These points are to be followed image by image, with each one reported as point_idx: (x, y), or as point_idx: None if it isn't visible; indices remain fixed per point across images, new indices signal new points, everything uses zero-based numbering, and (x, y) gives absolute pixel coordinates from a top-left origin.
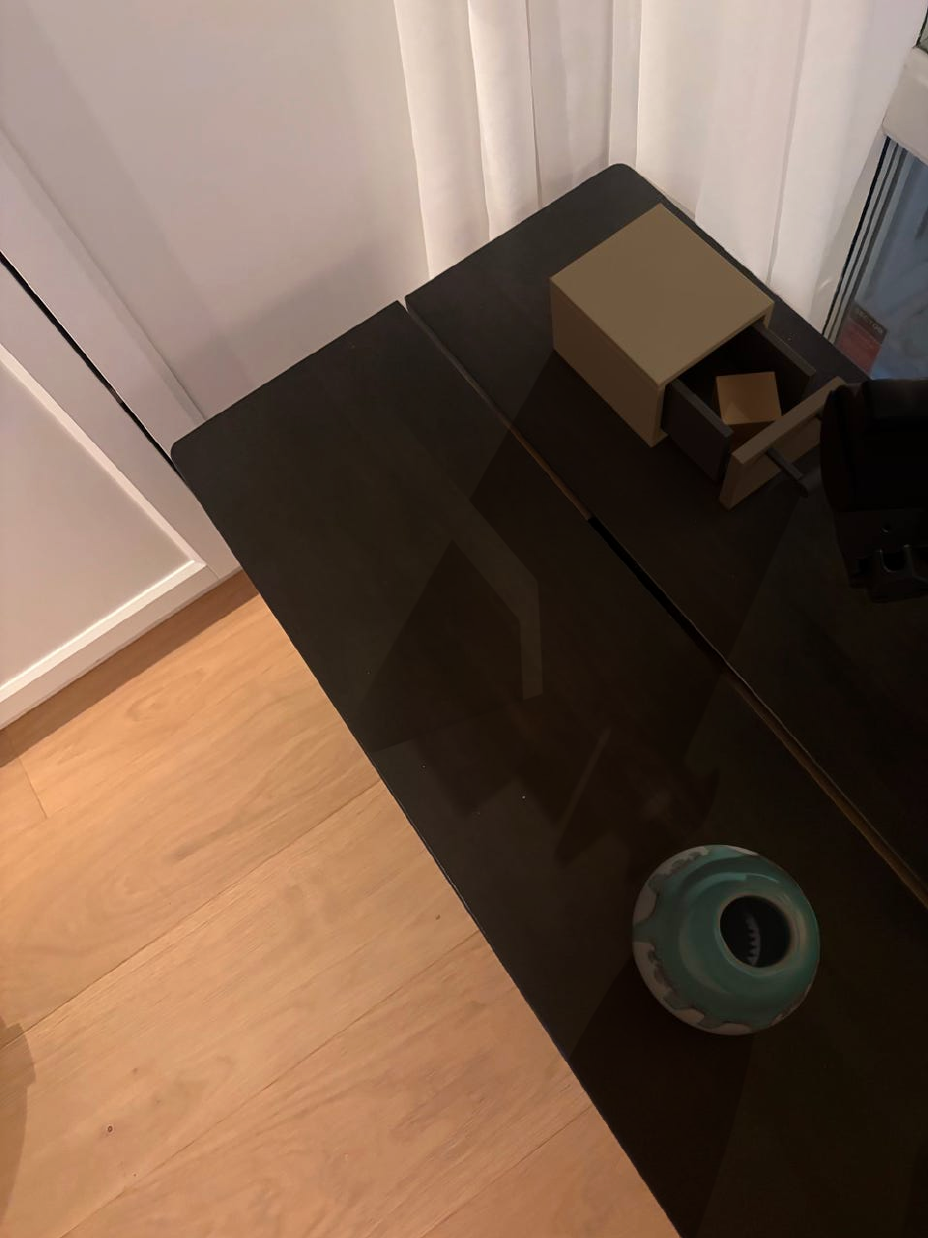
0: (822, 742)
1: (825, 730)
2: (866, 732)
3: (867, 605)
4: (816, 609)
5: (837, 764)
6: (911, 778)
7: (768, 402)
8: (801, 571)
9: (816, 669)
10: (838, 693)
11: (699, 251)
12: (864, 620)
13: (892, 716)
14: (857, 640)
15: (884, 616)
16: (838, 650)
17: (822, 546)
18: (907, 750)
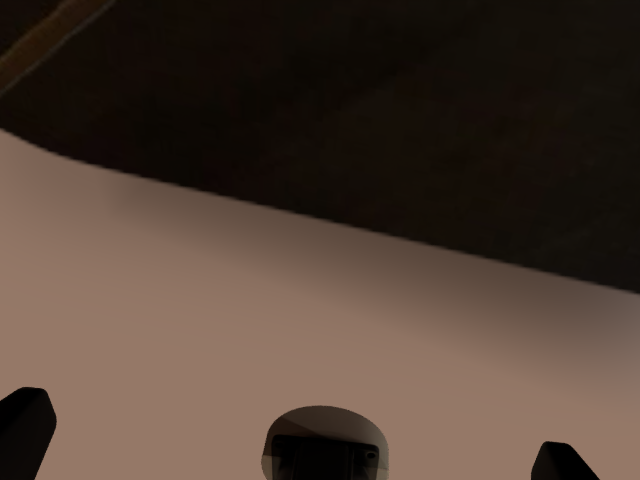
0: (164, 17)
1: (189, 29)
2: (190, 107)
3: (444, 165)
4: (459, 64)
5: (122, 39)
6: (115, 162)
7: None
8: (560, 49)
9: (321, 36)
10: (267, 71)
11: None
12: (414, 153)
13: (223, 158)
14: (375, 131)
15: (415, 188)
16: (359, 91)
17: (605, 108)
18: (163, 167)
